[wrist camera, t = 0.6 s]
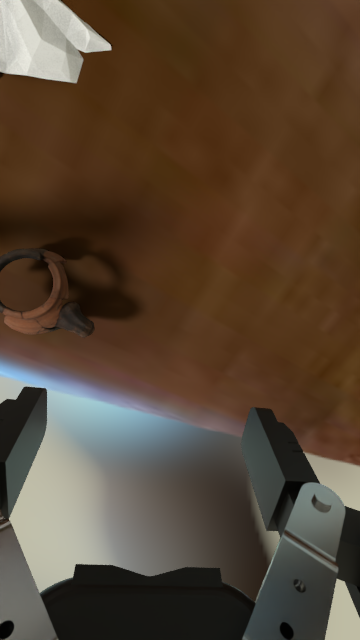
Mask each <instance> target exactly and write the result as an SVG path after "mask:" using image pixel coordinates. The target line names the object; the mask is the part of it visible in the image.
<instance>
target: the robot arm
mask: <svg viewBox="0 0 360 640" xmlns="http://www.w3.org/2000/svg"><path fill="white" fill-rule="evenodd" d="M46 424H47V390H46V388H35V387H24V388H23V389H22V391H21V393H20V394H19V396H18V398H17V399H16V400H12V399H7V400H5V401H4V402H2V403H1V404H0V640H325V635H326V630H327V625H328V620H329V615H330V610H331V604H332V599H333V594H334V588H335V583H336V579H340V580H342V581H345V583H346V586H347V588H348V590H349V593H350V595H351V598H352V600H353V603H354V605H355V607H356V610H357V612H358V615H359V617H360V511H357V510H355V509H352V508H349V507H346V506H344V504H343V502H342V500H341V499H340V498H339V496H338V495H337V494H336V493H335V492H334V491H332V490H331V489H329V488H328V487H326V486H324V485H322V484H320V482H319V481H318V479H317V477H316V475H315V473H314V471H313V469H312V467H311V465H310V463H309V462H308V460H307V458H306V456H305V454H304V453H303V450H302V448H301V447H300V445H298V441H297V439H296V437H295V435H294V433H293V432H292V431H291V430H290V429H289V428H288V427H287V426H286V425H285V424H284V423H280V422H278V421H277V419H276V417H275V415H274V413H273V411H272V410H271V409H266V408H255V407H252V408H251V409H250V412H249V415H248V419H247V422H246V425H245V429H244V432H243V436H242V442H241V443H242V444H241V446H242V453H243V456H244V460H245V463H246V466H247V469H248V473H249V476H250V479H251V482H252V486H253V489H254V492H255V495H256V498H257V502H258V505H259V508H260V511H261V514H262V518H263V521H264V524H265V527H266V530H267V531H278V532H279V535H280V541H279V543H278V545H277V548H276V551H275V553H274V556H273V558H272V561H271V564H270V566H269V568H268V571H267V573H266V576H265V579H264V581H263V583H262V586H261V588H260V591H259V594H258V596H257V599H256V601H255V602H254V601H253V600H252V599H251V598H249V597H248V596H247V595H246V594H245V593H243V592H242V591H240V590H239V589H237V588H236V587H234V586H232V585H230V584H227V583H225V582H222V579H221V573H220V568H195V567H185V568H182V569H178V570H174V571H170V572H166V573H163V574H159V575H155V576H145V575H141V574H138V573H135V572H132V571H129V570H126V569H123V568H120V567H116V566H113V565H82V564H76V566H75V571H74V576H73V578H69V579H66V580H63V581H61V582H58V583H56V584H54V585H52V586H50V587H48V588H47V589H45V590H44V591H42V592H41V593H39V591H38V589H37V586H36V584H35V581H34V579H33V576H32V574H31V571H30V569H29V566H28V564H27V562H26V559H25V557H24V554H23V552H22V549H21V547H20V544H19V542H18V540H17V537H16V534H15V532H14V529H13V527H12V525H11V523H10V521H9V517H10V514H11V512H12V510H13V508H14V505H15V503H16V501H17V498H18V496H19V494H20V491H21V489H22V487H23V484H24V482H25V480H26V477H27V475H28V472H29V470H30V468H31V466H32V463H33V461H34V459H35V456H36V454H37V451H38V449H39V447H40V445H41V442H42V440H43V437H44V434H45V430H46ZM4 518H6V519H4Z"/></svg>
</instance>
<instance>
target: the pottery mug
mask: <svg viewBox="0 0 360 640" xmlns="http://www.w3.org/2000/svg"><path fill="white" fill-rule="evenodd" d="M22 258H33V259H37V260H44V261H46V262H47V263H48V264H49V265H48V268H49V269H50V271H51V273H52V276H53V290H52V293H51V295H50V298H49V299H48V300H47V301H46V302H45V303H44V304H43V305H41V306H40V307H38V308H36V309H34V310H31V311H15V310H12V309H10V308H8V307H6V306H5V305H3V304H2V302H1V301H0V313H3V314H4V315H6V316H5V320H4V323H5V324H6V325H8V326H9V327H10V328H12V329H14V330H16V331H19V332H22V333H25V334H42V333H47V332H51V331H54V330H57V329H60V328H63V329H65V330H68V331H70V332H74V333H76V334H78V335H79V336H81V337H83V338H84V337H87V336H89V335H91V334H92V333H93V331H94V329H95V328H94V323H93V322H92V321H90V320H89V319H87V318H86V317H85V316H84V315H83V314H82V313H81V310H80V305H79V304H77V303H76V302H68V303H66V304H65V305H64V306H63V307H62V300H63V299H68V296H69V295H68V281H67V277H66V272H65V270H64V268H63V266H62V264H61V263H64V264H66V262H67V261H66V260H65V259H64V258H63V257H61V256H60V255H58V254H56V253H54V252H51V251H48V250H46V249H37V248H35V249H17V250H13V251H11V252H8V253H7V254H4V255H3V256H1V257H0V272H1V270H2V269H3V268H4V267H5V266H6V265H7V264H9V263H10V262H12V261H14V260H18V259H22Z"/></svg>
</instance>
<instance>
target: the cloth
mask: <svg viewBox="0 0 360 640" xmlns="http://www.w3.org/2000/svg"><path fill="white" fill-rule="evenodd" d="M77 49H78V50H81V51H83V52H85V53H88V52H94V51H106V50H111V45H110V44H109V43H108V42H107V41H106V40H105V39H103V38H102V37H101V36H100V35H99V34H98V33H97V32H96V31H94V30H93V29H92V28H91V27H90V26H89V25H88V24H87V23H85V22H84V21H83V20H81V19H80V18H79V17H78V16H77V15H76V14H75V13H74V12H73V11H72V10H71V9H69V8H68V7H67V6H66V5H65V4H64V3H63V2H62V1H61V0H0V72H2V73H6V74H16V75H26V76H32V77H38V78H43V79H50V80H57V81H65V82H72V83H77V80H78V76H79V73H80V69H81V66H82V62H83V58H82V56H81V55H80V53H79V52H78V50H77Z"/></svg>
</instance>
